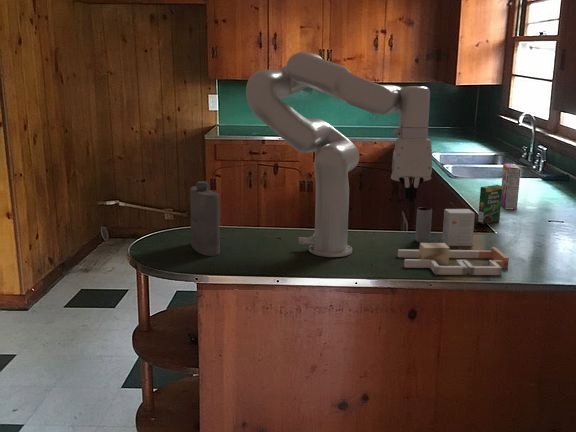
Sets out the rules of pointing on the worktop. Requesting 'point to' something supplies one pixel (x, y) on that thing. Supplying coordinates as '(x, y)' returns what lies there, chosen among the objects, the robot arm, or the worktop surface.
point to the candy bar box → (510, 185)
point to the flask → (204, 219)
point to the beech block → (435, 252)
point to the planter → (423, 224)
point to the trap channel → (459, 262)
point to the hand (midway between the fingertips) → (409, 201)
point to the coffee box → (490, 204)
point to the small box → (458, 227)
